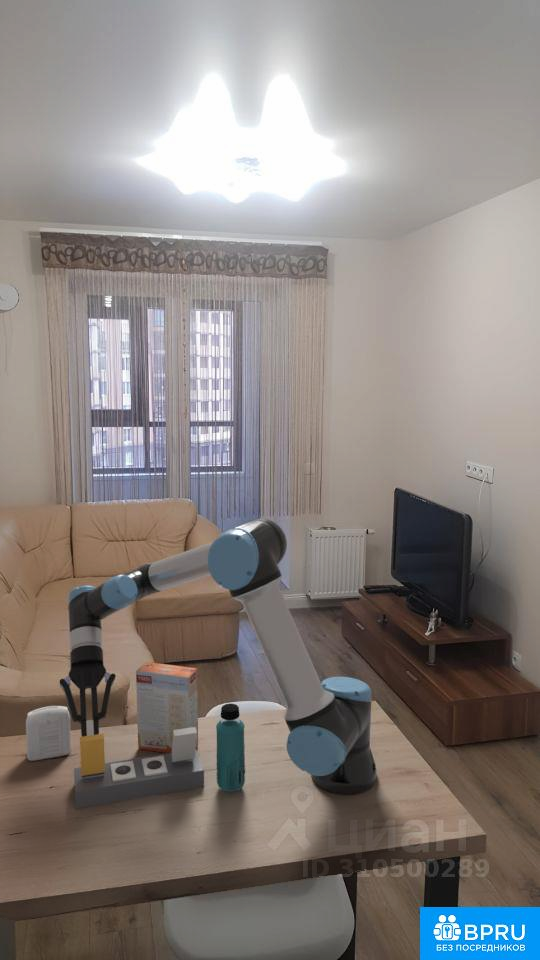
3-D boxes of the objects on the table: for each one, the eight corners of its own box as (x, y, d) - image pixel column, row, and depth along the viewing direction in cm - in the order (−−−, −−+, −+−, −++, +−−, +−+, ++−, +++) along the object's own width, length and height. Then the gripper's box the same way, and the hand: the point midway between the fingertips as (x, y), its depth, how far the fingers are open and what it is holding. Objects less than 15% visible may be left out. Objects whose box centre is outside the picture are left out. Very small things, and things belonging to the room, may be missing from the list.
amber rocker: (104, 770, 155) (103, 733, 152) (105, 775, 154) (104, 738, 151) (81, 774, 154) (79, 737, 151) (81, 779, 153) (80, 741, 149)
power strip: (196, 764, 166) (196, 746, 165) (204, 786, 157) (203, 768, 157) (74, 784, 158) (73, 766, 157) (75, 808, 149) (75, 789, 148)
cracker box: (199, 745, 174) (198, 667, 170) (189, 758, 168) (188, 677, 165) (148, 736, 178) (146, 659, 174) (137, 749, 172) (135, 669, 169)
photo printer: (70, 746, 173) (68, 699, 171) (72, 755, 169) (70, 708, 167) (26, 754, 170) (24, 707, 167) (27, 763, 166) (24, 715, 163)
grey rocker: (192, 755, 161) (195, 726, 156) (194, 761, 160) (196, 732, 155) (171, 759, 160) (173, 730, 155) (172, 765, 159) (174, 736, 153)
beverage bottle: (241, 800, 153) (241, 715, 149) (212, 796, 154) (211, 712, 150) (248, 782, 159) (248, 701, 155) (220, 778, 160) (219, 698, 157)
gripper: (113, 652, 171) (120, 751, 159) (58, 657, 168) (60, 759, 155) (114, 641, 165) (121, 743, 153) (57, 646, 162) (59, 751, 149)
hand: (90, 751), depth 154 cm, fingers closed
